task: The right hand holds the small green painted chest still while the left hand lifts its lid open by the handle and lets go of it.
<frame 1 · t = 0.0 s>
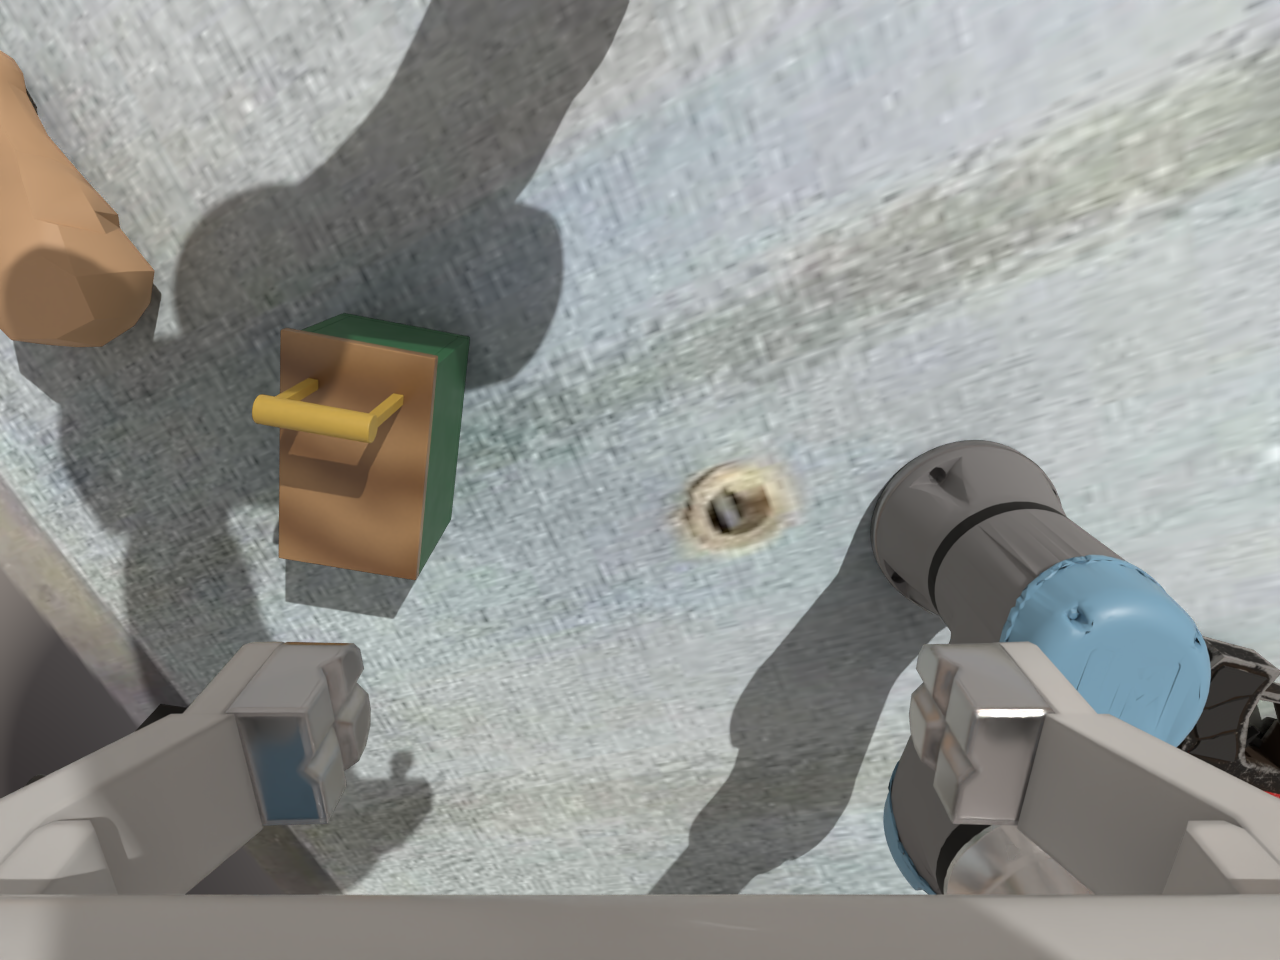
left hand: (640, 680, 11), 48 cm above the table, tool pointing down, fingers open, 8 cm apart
lid: (334, 480, 46), point 14 cm above the table, hinge at 0.0°
gun: (1260, 739, 71), on the table
chest: (400, 421, 59), on the table
squash: (66, 206, 53), on the table
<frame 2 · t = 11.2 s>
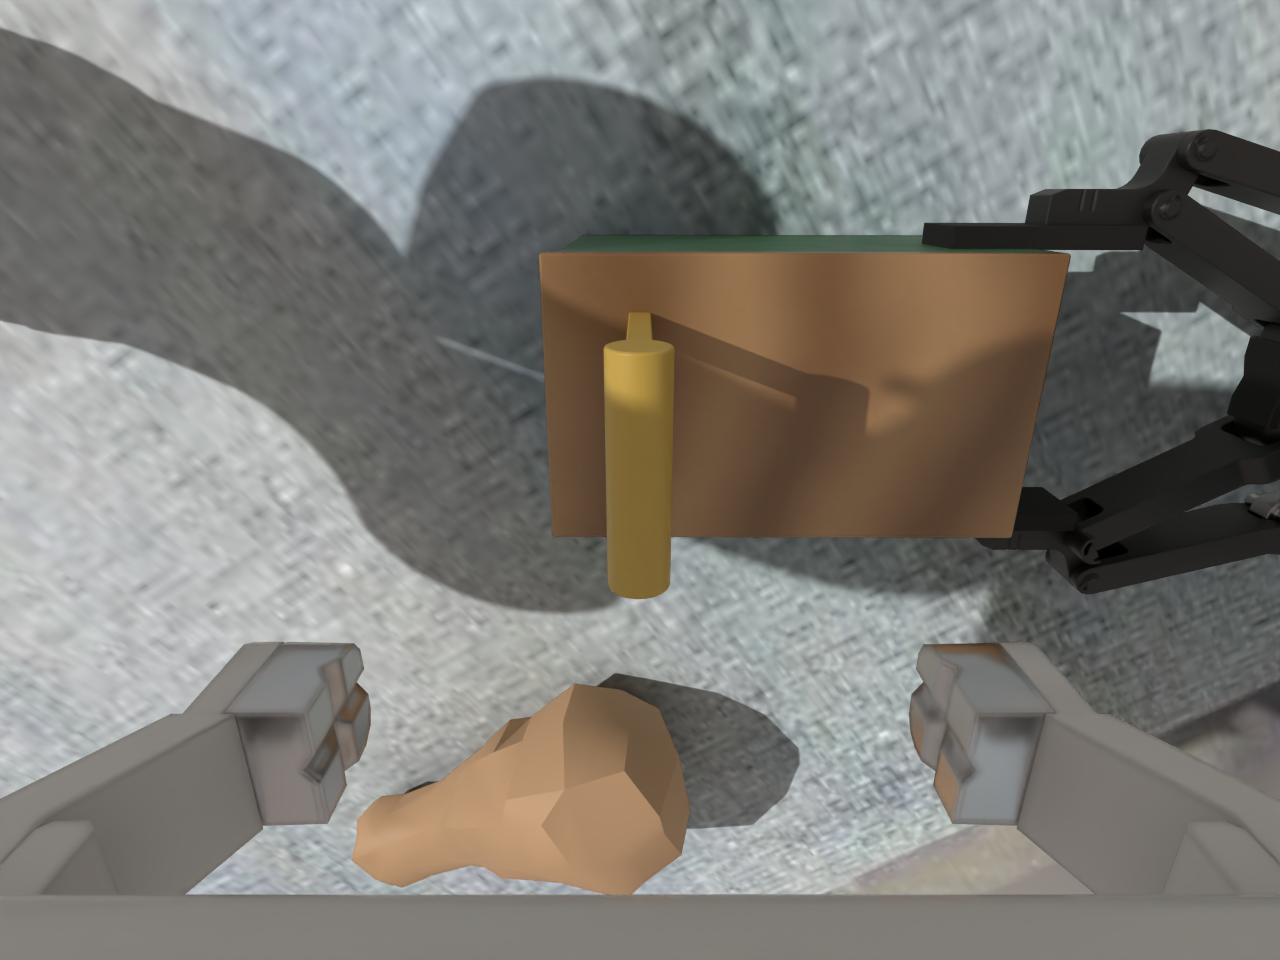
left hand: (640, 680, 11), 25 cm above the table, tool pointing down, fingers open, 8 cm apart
right hand: (915, 381, 28), fingers closed on chest, 10 cm apart
lid: (813, 435, 21), point 14 cm above the table, hinge at 0.0°
chest: (755, 345, 34), on the table, touching right hand
squash: (530, 763, 43), on the table
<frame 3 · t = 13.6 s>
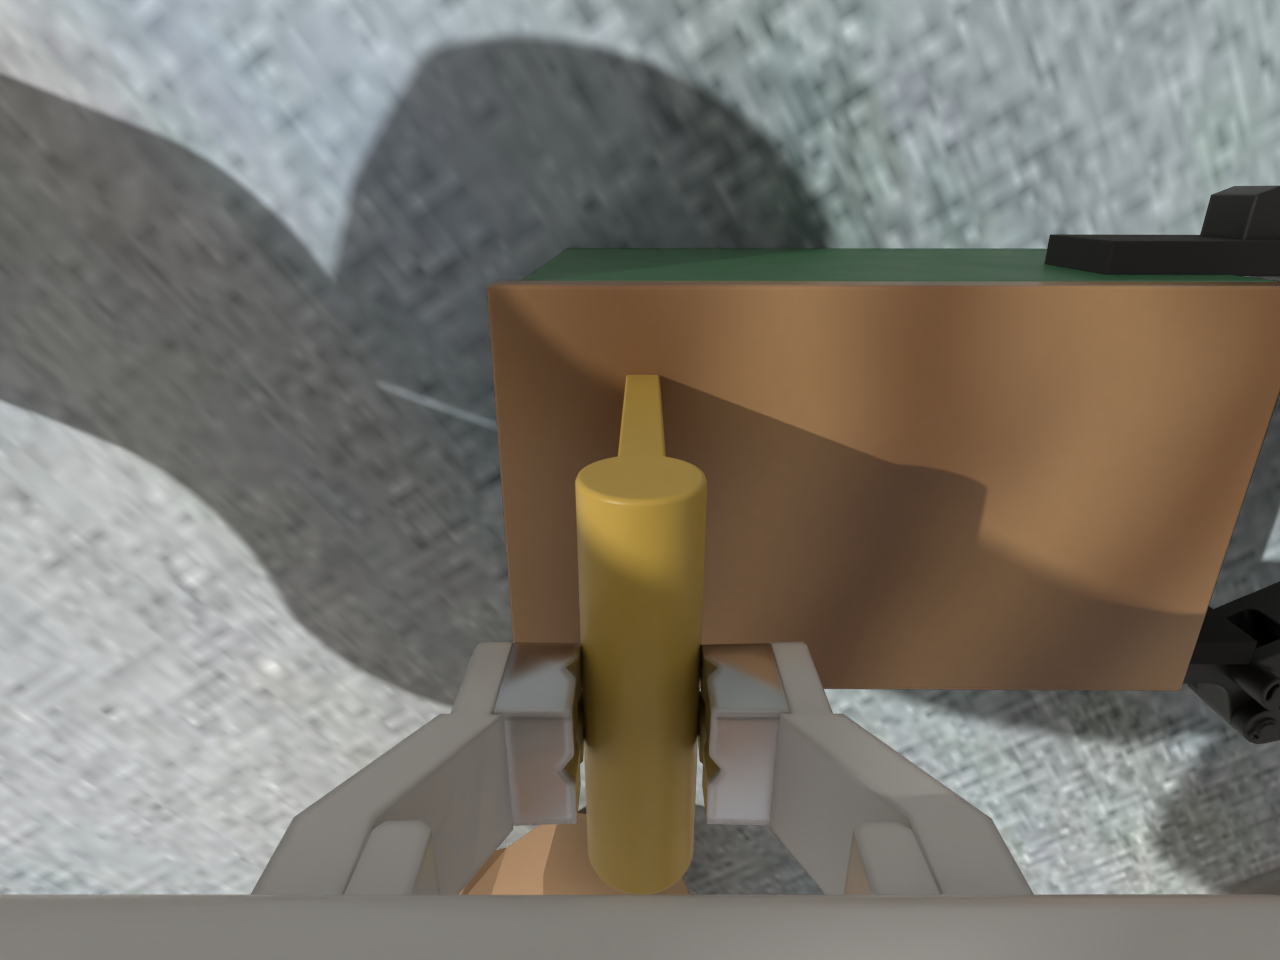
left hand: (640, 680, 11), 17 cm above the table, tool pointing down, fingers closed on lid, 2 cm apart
lid: (919, 578, 13), point 14 cm above the table, hinge at -0.1°, touching left hand
chest: (793, 391, 26), on the table, touching right hand
squash: (507, 892, 35), on the table
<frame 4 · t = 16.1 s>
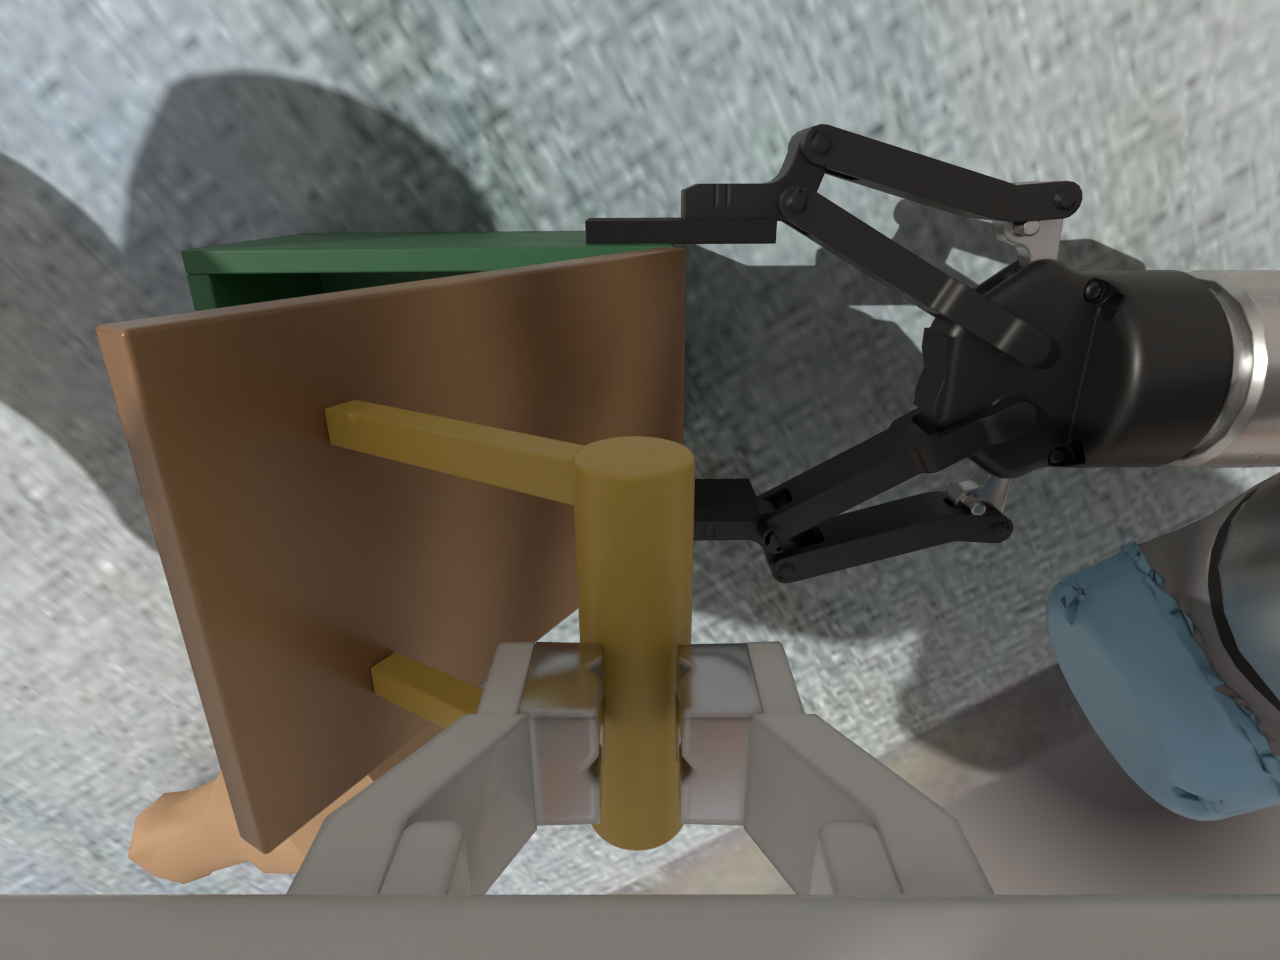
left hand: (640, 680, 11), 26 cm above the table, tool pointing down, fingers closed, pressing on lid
right hand: (592, 375, 28), fingers closed on chest, 10 cm apart
lid: (636, 498, 17), point 19 cm above the table, hinge at 57.8°, touching left hand
chest: (491, 341, 34), on the table, touching right hand
squash: (320, 758, 43), on the table
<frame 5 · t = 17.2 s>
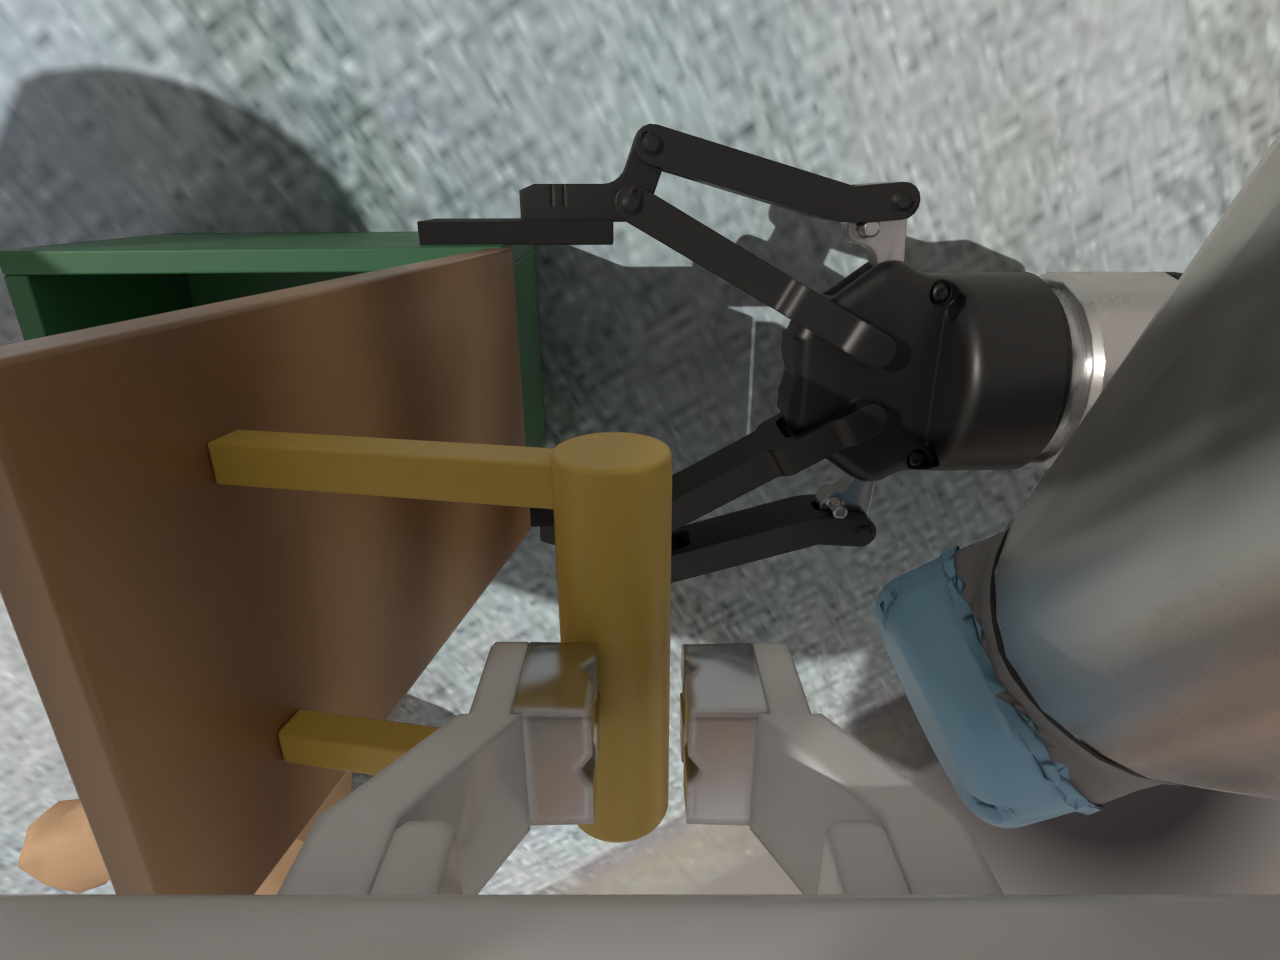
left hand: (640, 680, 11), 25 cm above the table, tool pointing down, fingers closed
right hand: (443, 378, 28), fingers closed on chest, 10 cm apart
lid: (531, 501, 17), point 19 cm above the table, hinge at 77.5°, touching left hand
chest: (368, 342, 34), on the table, touching right hand
squash: (221, 764, 43), on the table
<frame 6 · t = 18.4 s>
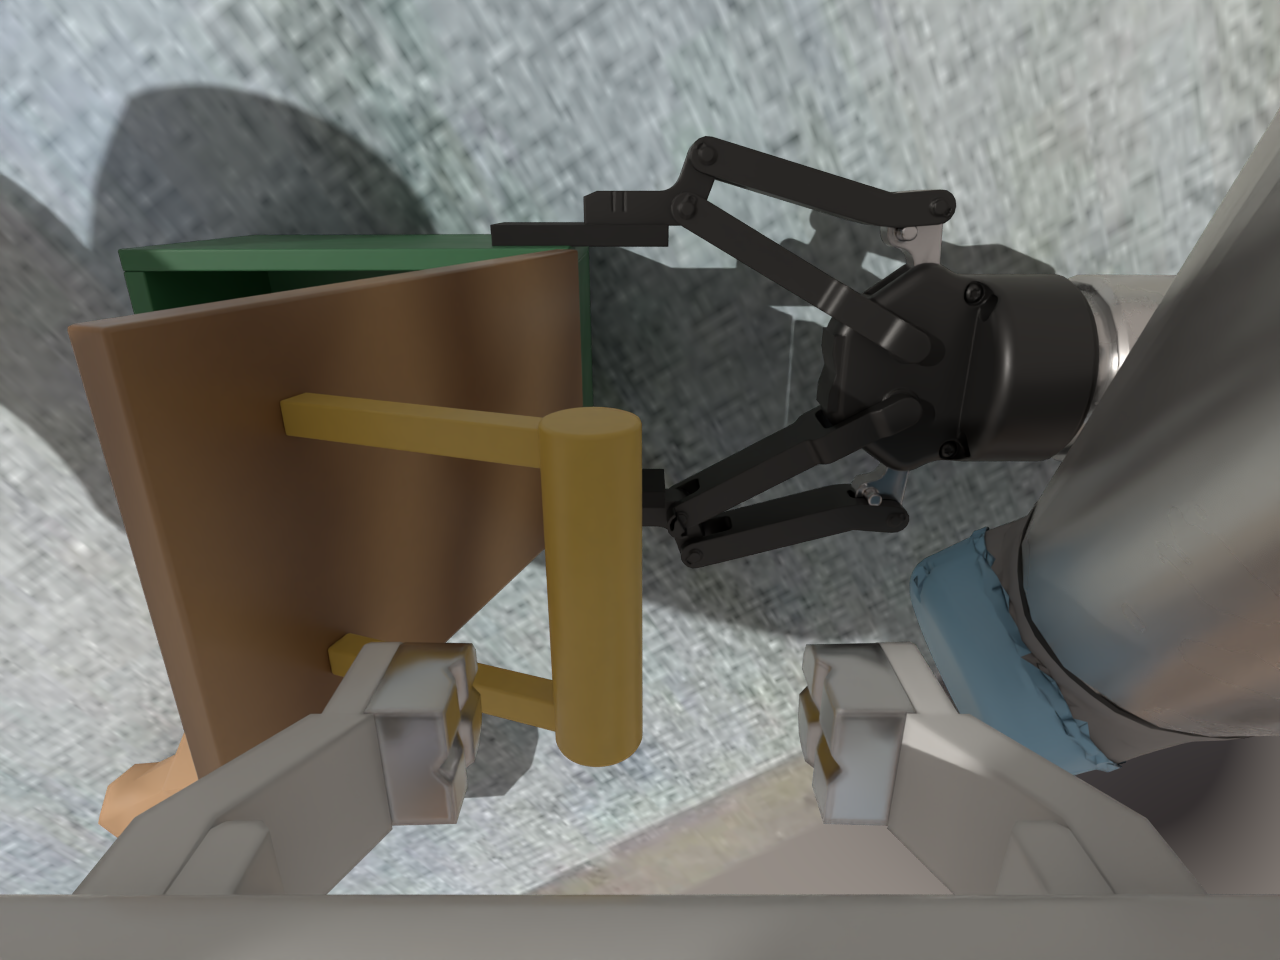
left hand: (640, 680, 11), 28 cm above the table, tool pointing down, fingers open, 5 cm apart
right hand: (507, 369, 30), fingers closed on chest, 10 cm apart
lid: (561, 475, 19), point 19 cm above the table, hinge at 70.5°
chest: (431, 337, 36), on the table, touching right hand
squash: (282, 734, 46), on the table
when the right hand's fingers open (7 cm above the table, at t = 21.5 s): chest stays where it is, on the table.
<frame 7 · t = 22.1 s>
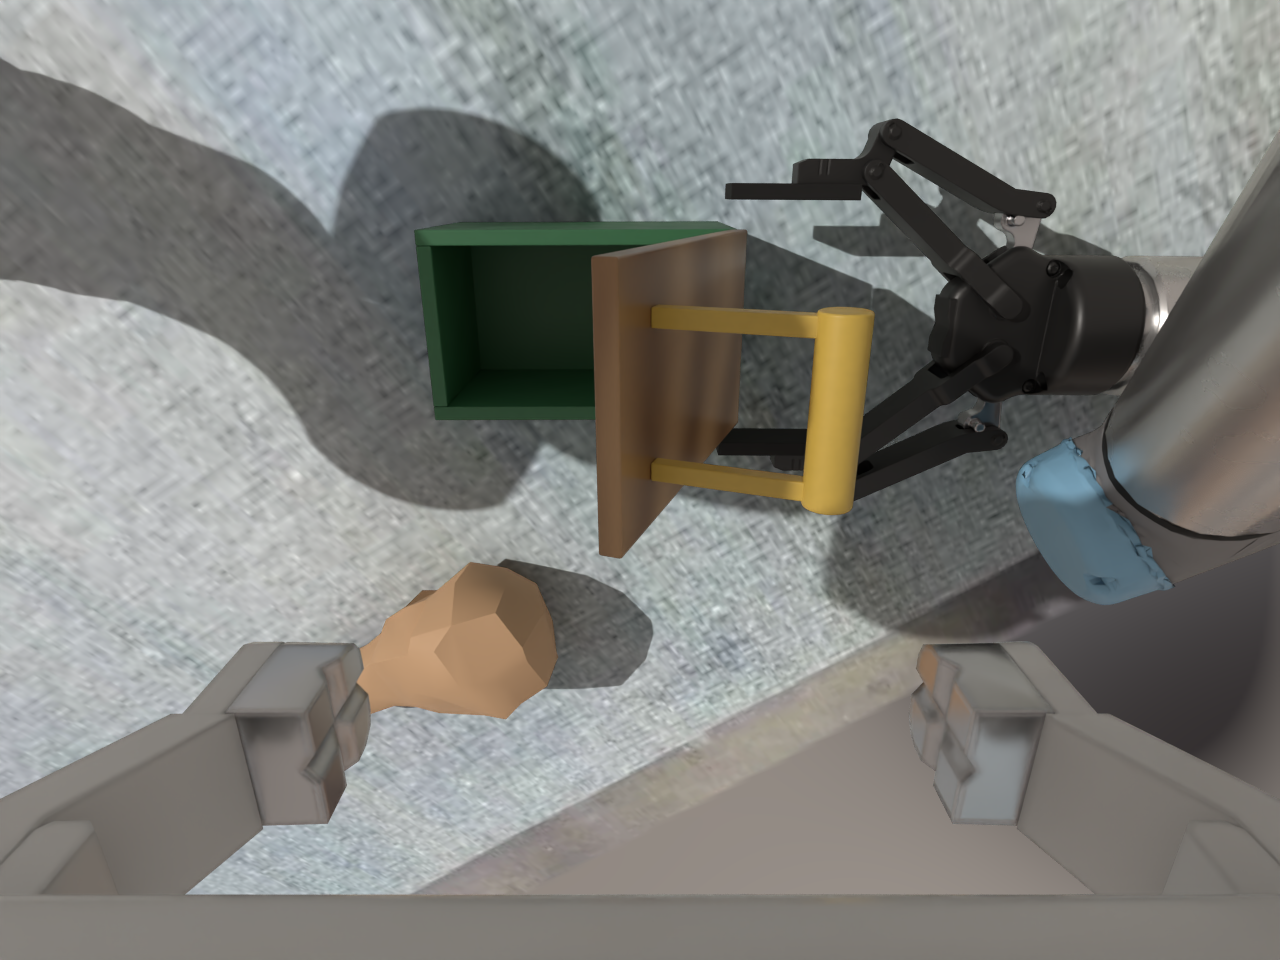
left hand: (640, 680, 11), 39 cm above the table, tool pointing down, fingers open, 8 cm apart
right hand: (720, 324, 40), fingers open, 13 cm apart
lid: (770, 370, 29), point 19 cm above the table, hinge at 69.2°
chest: (590, 302, 47), on the table
squash: (444, 633, 56), on the table
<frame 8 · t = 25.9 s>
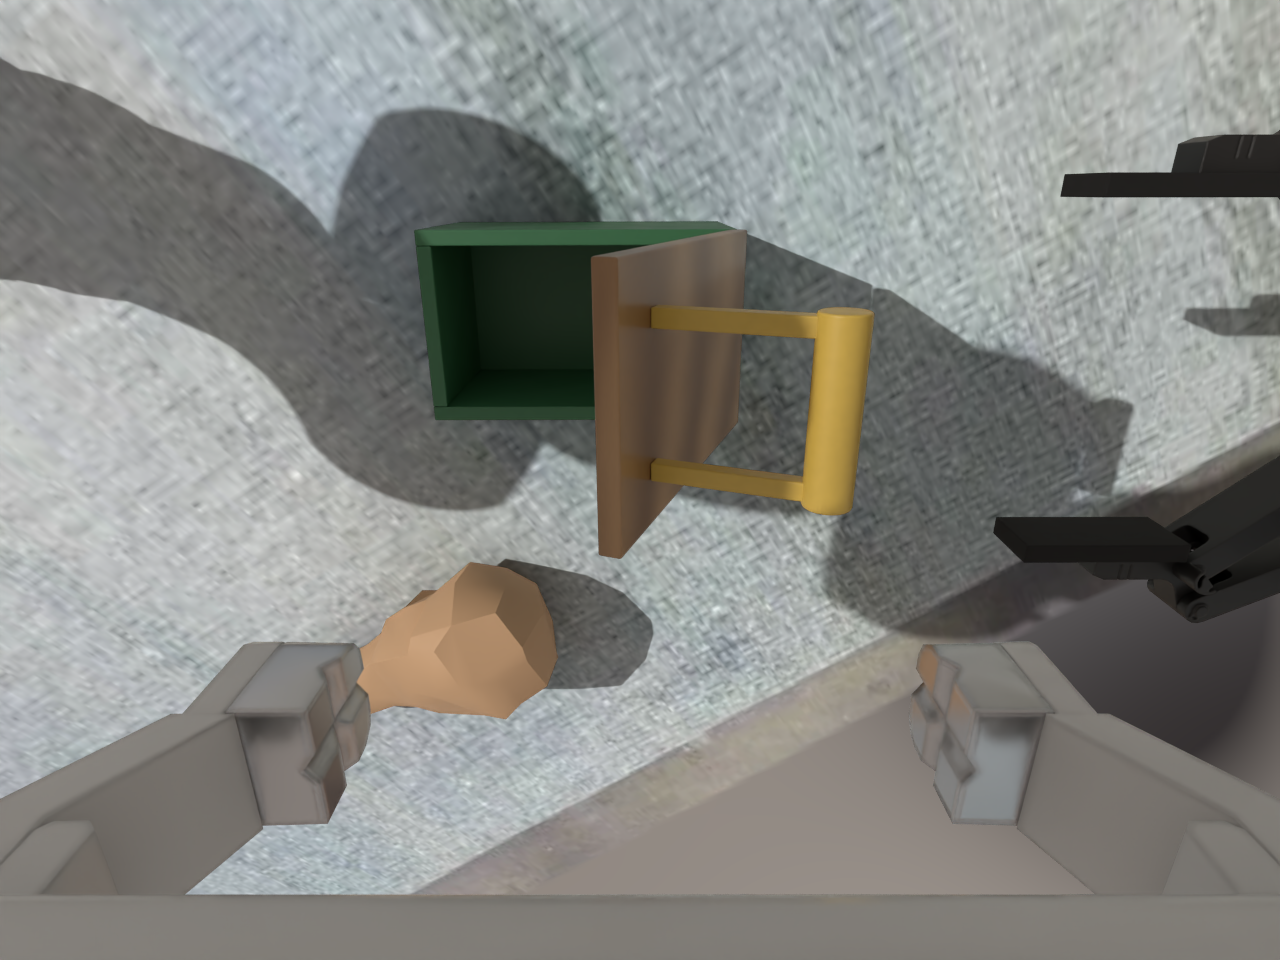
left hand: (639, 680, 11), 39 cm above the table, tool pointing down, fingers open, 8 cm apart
right hand: (1041, 378, 28), fingers open, 13 cm apart
lid: (770, 371, 29), point 19 cm above the table, hinge at 69.2°
chest: (590, 302, 47), on the table
squash: (444, 633, 56), on the table
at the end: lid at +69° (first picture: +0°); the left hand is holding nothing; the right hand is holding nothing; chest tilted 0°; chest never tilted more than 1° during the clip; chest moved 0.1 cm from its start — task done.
